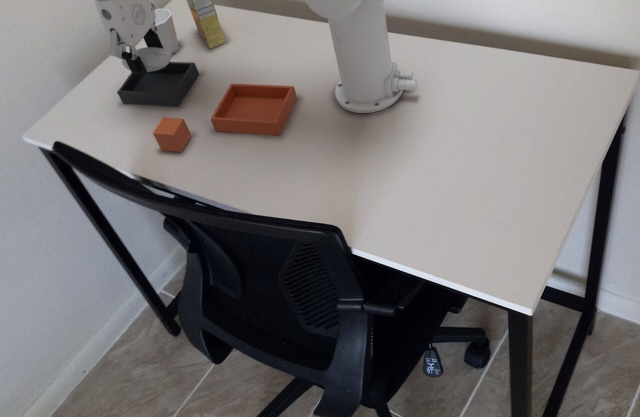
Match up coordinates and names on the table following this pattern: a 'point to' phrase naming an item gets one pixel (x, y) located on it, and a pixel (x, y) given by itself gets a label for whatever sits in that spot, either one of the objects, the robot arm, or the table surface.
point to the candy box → (207, 22)
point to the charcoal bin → (160, 85)
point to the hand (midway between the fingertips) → (148, 61)
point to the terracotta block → (172, 134)
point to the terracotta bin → (254, 109)
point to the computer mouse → (152, 58)
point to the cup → (166, 29)
